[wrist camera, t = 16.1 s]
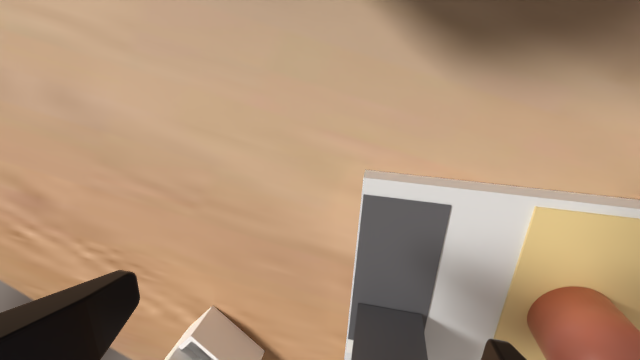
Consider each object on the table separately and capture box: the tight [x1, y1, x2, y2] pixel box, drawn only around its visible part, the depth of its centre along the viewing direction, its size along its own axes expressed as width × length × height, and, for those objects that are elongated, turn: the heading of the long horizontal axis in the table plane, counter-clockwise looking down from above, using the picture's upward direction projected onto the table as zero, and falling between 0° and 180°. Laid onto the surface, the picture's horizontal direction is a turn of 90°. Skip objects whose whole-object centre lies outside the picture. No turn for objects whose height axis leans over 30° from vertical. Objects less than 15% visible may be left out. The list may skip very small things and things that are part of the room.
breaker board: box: [344, 170, 640, 360], centre depth 20 cm, size 14×16×2 cm
